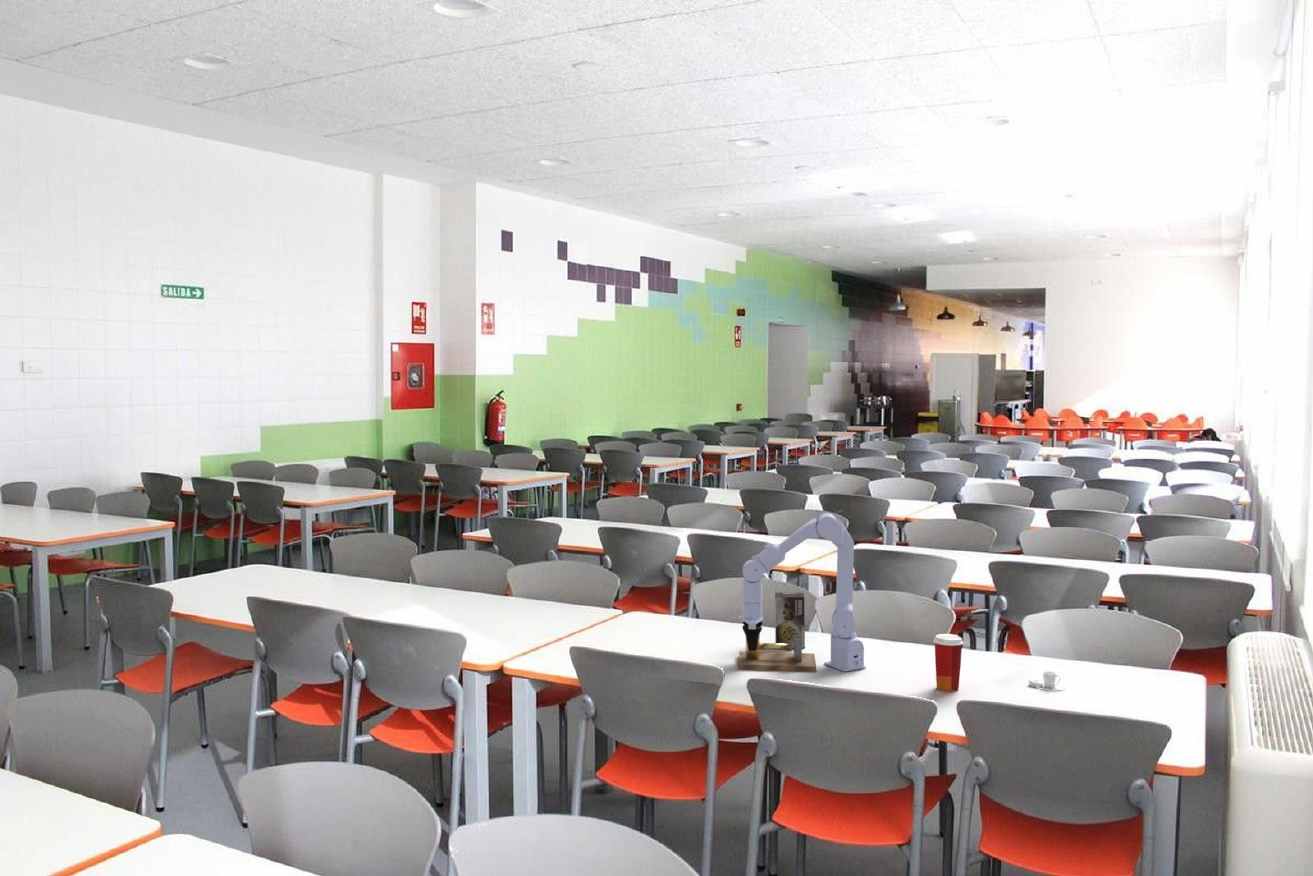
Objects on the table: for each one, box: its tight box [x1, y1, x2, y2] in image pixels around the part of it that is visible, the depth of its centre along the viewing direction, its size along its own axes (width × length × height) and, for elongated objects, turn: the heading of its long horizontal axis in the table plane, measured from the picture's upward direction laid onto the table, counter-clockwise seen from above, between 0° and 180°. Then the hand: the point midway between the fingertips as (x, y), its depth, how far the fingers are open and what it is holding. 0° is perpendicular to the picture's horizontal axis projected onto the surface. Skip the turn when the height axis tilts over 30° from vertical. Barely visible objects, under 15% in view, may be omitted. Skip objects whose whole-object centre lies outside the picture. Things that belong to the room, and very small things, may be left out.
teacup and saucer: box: [1028, 671, 1066, 692], centre depth 277 cm, size 9×8×4 cm
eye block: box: [737, 632, 817, 673], centre depth 300 cm, size 22×14×8 cm, turn 84°
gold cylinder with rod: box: [745, 633, 792, 659], centre depth 300 cm, size 13×4×8 cm, turn 84°
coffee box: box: [774, 592, 806, 649], centre depth 320 cm, size 9×6×16 cm
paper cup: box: [932, 633, 964, 693], centre depth 275 cm, size 8×8×14 cm
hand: (752, 648), depth 300 cm, fingers closed on gold cylinder with rod, 4 cm apart
